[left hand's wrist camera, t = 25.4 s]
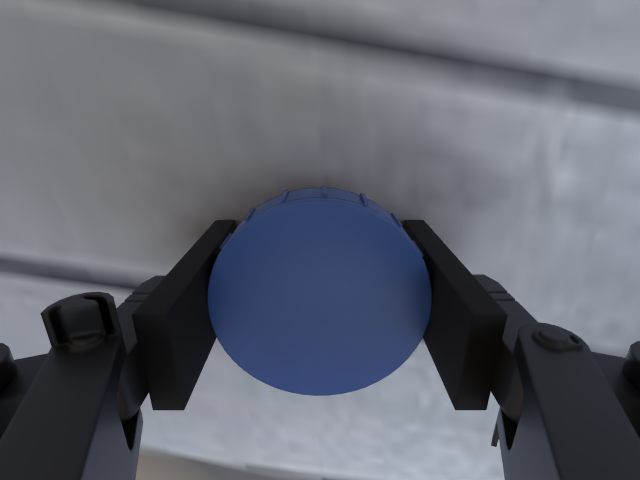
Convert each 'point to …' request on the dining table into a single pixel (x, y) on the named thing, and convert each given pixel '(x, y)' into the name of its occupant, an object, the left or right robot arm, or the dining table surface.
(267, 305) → the lid
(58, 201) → the dining table surface
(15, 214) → the dining table surface
